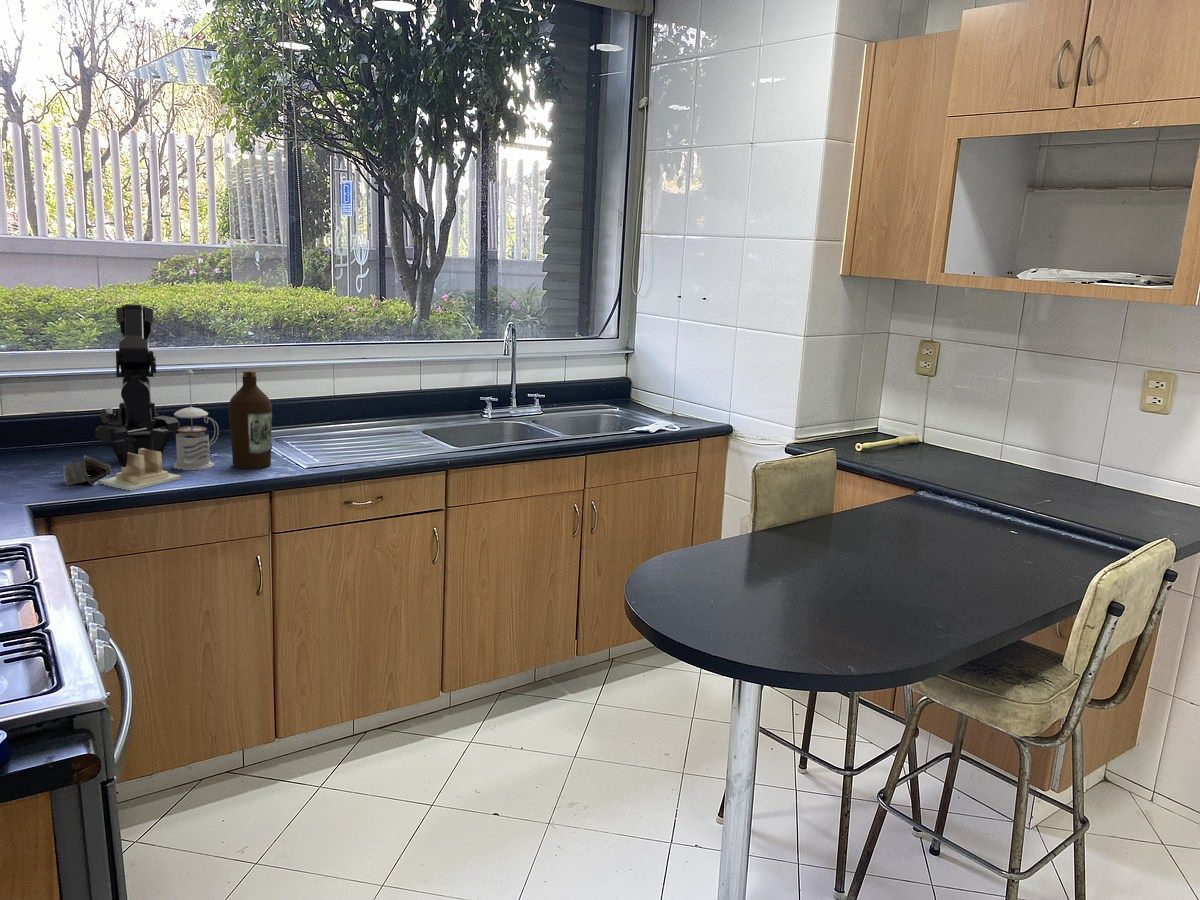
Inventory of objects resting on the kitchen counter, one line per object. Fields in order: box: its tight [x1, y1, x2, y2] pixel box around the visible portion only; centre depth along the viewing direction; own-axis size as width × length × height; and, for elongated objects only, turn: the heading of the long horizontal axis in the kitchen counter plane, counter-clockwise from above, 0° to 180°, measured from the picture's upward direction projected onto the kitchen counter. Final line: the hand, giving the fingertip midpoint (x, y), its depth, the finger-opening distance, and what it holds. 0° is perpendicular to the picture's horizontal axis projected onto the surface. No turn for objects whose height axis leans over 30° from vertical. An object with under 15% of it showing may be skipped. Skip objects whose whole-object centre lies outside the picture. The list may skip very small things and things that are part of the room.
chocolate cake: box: [62, 454, 113, 486], centre depth 213 cm, size 10×7×12 cm
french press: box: [172, 369, 220, 471], centre depth 231 cm, size 10×12×25 cm
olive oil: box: [228, 369, 273, 470], centre depth 234 cm, size 11×11×25 cm
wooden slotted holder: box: [115, 448, 169, 484], centre depth 214 cm, size 8×8×6 cm
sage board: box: [98, 472, 182, 492], centre depth 215 cm, size 14×11×1 cm
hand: (140, 463), depth 214 cm, fingers open, 9 cm apart
